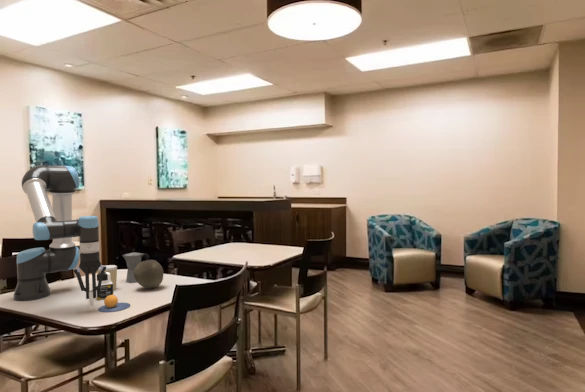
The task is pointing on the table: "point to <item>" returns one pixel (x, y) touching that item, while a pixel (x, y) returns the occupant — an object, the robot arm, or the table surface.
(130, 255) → the coffeepot
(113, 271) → the coffee cup
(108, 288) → the medicine bottle
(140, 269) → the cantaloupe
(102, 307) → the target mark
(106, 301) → the ball
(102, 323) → the table surface
